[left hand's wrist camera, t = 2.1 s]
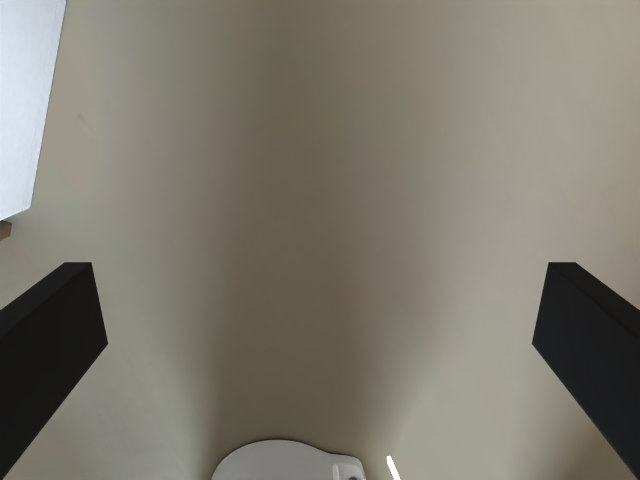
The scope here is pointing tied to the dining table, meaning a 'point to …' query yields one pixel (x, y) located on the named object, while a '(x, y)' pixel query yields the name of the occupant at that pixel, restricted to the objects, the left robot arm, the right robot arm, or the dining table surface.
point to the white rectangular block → (24, 93)
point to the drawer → (4, 229)
